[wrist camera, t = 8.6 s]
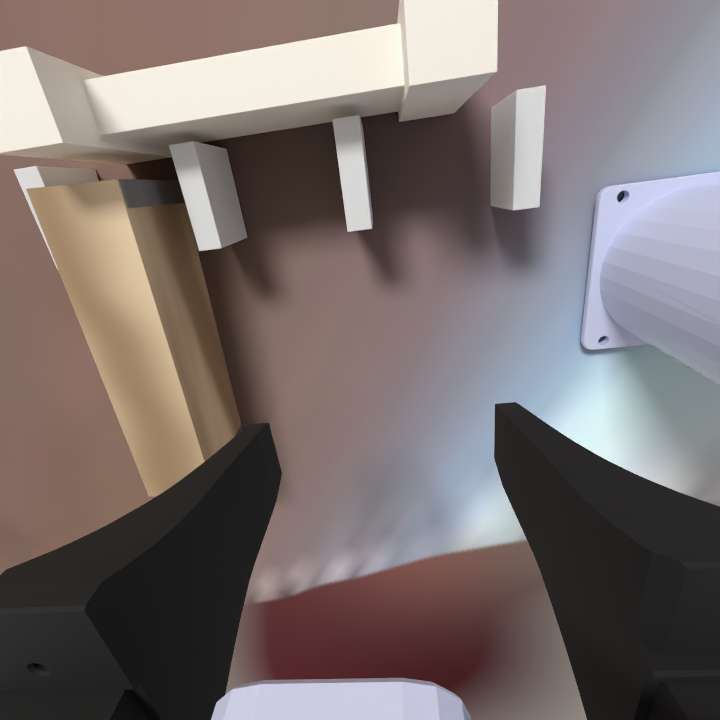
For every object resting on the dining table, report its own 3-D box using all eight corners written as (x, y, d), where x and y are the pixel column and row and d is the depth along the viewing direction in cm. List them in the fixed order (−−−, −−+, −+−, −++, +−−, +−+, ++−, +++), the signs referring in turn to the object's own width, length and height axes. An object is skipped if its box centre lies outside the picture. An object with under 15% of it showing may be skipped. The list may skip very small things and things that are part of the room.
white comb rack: (516, 34, 16) (608, -66, 9) (512, 203, 18) (580, 213, 12) (53, 114, 18) (-128, 75, 11) (107, 256, 20) (-16, 288, 14)
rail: (181, 180, 19) (118, 179, 14) (245, 437, 25) (215, 494, 20) (109, 187, 19) (24, 188, 15) (190, 439, 25) (148, 496, 21)
